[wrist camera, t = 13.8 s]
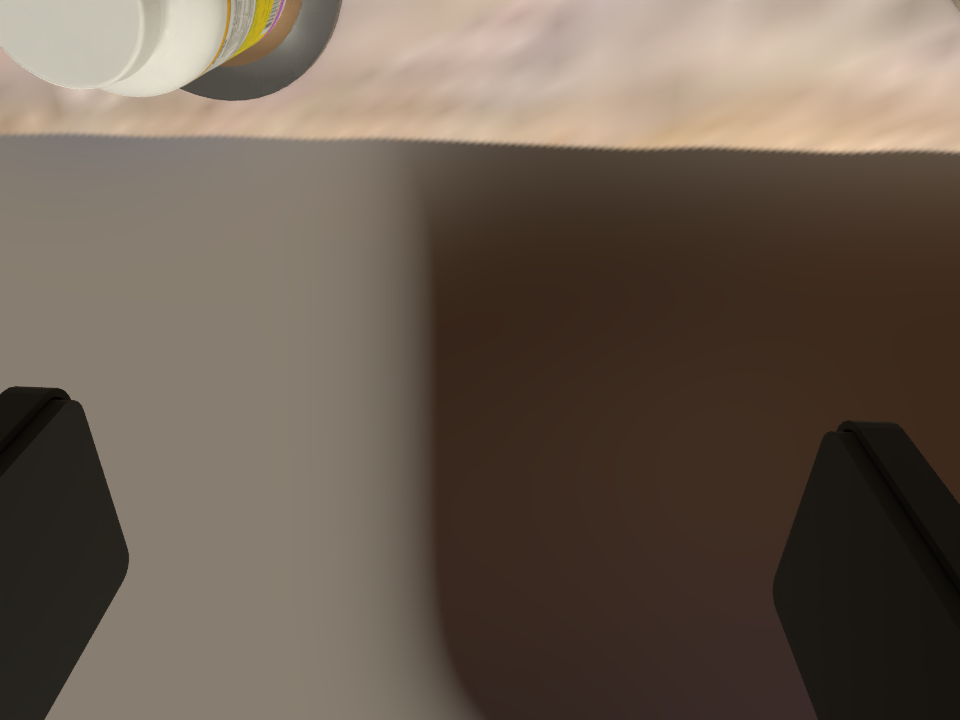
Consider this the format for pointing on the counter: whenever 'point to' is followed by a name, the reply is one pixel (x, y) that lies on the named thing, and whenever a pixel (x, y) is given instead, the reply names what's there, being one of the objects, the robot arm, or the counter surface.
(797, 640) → the robot arm
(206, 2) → the supplement bottle
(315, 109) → the counter surface
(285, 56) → the round coaster
